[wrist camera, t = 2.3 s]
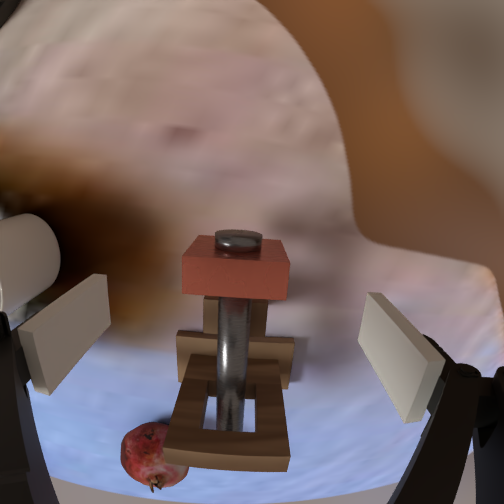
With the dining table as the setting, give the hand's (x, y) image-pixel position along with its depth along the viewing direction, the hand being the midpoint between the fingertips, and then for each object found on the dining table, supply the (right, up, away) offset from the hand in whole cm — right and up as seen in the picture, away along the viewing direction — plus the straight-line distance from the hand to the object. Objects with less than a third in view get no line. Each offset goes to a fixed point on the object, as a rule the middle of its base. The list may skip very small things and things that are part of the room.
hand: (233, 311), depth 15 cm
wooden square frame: (-1, -9, +18) cm, 20 cm away
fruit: (-11, -21, +21) cm, 32 cm away
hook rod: (-1, -4, +12) cm, 13 cm away
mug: (-25, +4, +15) cm, 29 cm away
